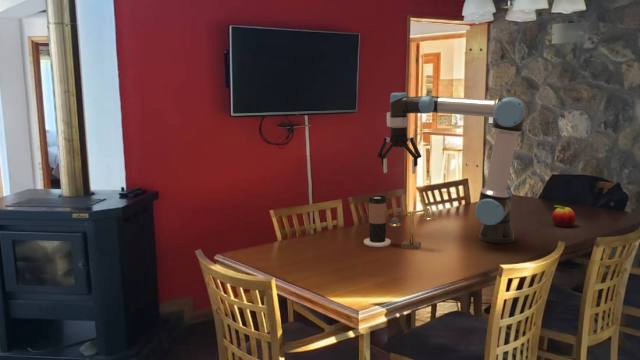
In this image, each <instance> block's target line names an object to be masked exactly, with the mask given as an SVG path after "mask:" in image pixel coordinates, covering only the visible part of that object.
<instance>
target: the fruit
mask: <svg viewBox="0 0 640 360" xmlns="http://www.w3.org/2000/svg"><path fill="white" fill-rule="evenodd" d="M553 207H555V210H553V212H552V215H551V218H552V222H553V224H555V226H557V227H559V228H569V227H571V226H573V225H574V224H575V223H576V213H575V211H574V210H573V209H572V208H570V207H565V206H562V205H557V204H556V205H553Z"/></svg>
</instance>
